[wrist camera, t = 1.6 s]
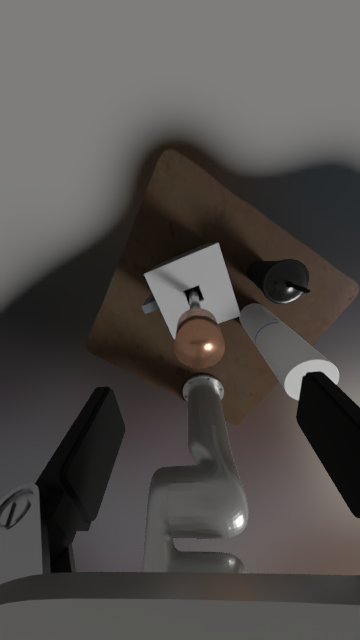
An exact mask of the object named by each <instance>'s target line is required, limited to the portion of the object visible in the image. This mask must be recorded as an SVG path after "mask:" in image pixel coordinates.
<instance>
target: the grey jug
mask: <svg viewBox="0 0 360 640" xmlns="http://www.w3.org/2000/svg"><path fill="white" fill-rule="evenodd" d="M144 276H145V278H146V280H147V282H148V285H149V287H150V289H151V291H152V294H150V296H149V297H148V298H147V300H146V301H145V302H144V304H143V305H142V308H143V310H144V312H145V314H147V313H149V312H152V311H154V310H157V309H160V310H161V313H162V315H163V317H164V319H165V321H166V323H167V325H168V328H169V330H170V332H171V334H172V336H173V338H174V339H175V338H176V330H177V323H178V320H179V318H180V317H181V315H182V314H183V313H184V312H186V311H187V310H190V303H189V302H188V300H187V297H186V295H185V292H184V291H185V290H187V289H190V288H193V287H195V286H198V285H199V287H200V290H201V293H202V295H203V299H200V300H199V302H200V307H201V308H202V309H206V310H208V311H209V312H211V313H212V314H213V315H214V316H215V318H216V320H217V323H221V322H224V321H227V320H230V319H233V318H236V317H239V316H241V315H240V311H239V308H238V305H237V302H236V298H235V295H234V292H233V288H232V285H231V282H230V279H229V275H228V272H227V269H226V266H225V262H224V259H223V256H222V252H221V249H220V246H219V243H206V244H204V245H202V246H199V247H197V248H195V249H192V250H190V251H187V252H185V253H183V254H180V255H178V256H176V257H173V258H171V259H169V260H166V261H164V262H162V263H159V264H158V265H156V266H155V267H154V268H152V269H151V270H149V271H148V272H146V273H145V274H144Z"/></svg>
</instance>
